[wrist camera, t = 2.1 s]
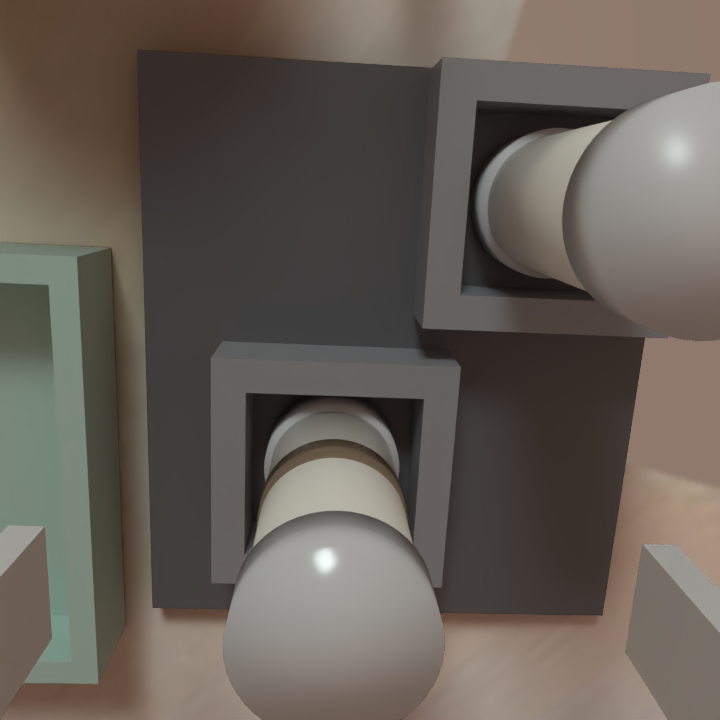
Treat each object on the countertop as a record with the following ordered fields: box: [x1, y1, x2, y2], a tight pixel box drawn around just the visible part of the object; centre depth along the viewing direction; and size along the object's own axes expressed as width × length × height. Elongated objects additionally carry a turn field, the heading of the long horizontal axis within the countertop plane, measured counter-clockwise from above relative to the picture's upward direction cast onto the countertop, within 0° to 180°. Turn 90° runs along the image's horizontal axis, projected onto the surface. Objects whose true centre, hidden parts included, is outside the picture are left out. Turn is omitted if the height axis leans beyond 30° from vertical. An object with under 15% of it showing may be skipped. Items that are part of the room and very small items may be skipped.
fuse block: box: [138, 50, 720, 615], centre depth 18 cm, size 16×18×11 cm
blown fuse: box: [223, 395, 445, 720], centre depth 18 cm, size 4×4×10 cm
